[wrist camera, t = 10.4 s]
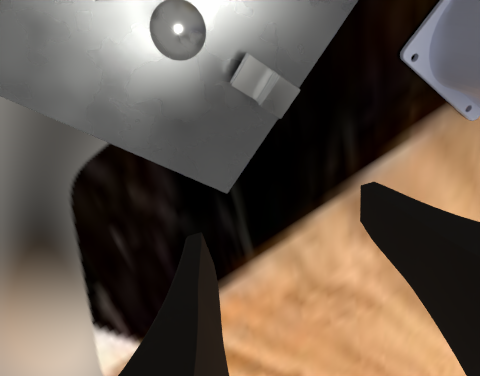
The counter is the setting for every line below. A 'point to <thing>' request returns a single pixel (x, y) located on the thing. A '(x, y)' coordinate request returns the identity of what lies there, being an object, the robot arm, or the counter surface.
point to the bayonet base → (166, 72)
